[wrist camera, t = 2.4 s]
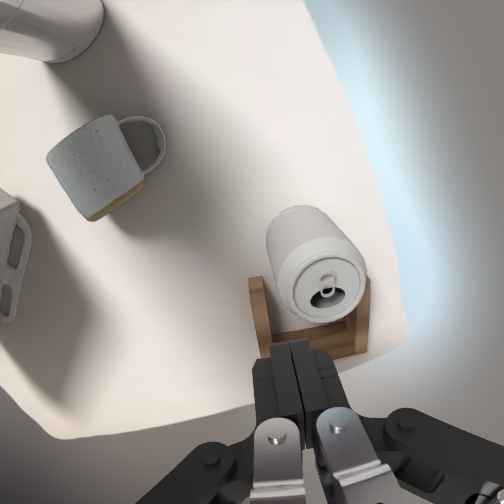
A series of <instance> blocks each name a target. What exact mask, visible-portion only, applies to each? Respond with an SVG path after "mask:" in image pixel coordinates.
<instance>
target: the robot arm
mask: <svg viewBox="0 0 504 504" xmlns="http://www.w3.org/2000/svg"><path fill="white" fill-rule="evenodd" d="M103 16H104V9H103V4H102V2H101V0H0V53H5V54H11V55H17V56H22V57H27V58H32V59H37V60H41V61H45V62H51V63H62V62H65V61H69V60H71V59H73V58H75V57H77V56H78V55H79V54H81V53H82V52H83V51H85V50H86V49H87V48H88V46H89V45H90V44H91V43H92V42H93V40H94V39H95V38H96V36H97V34H98V32H99V30H100V28H101V25H102V22H103ZM288 344H289V346H288ZM269 351H270V357H268V358H261V359H257V360H256V362H255V364H254V366H253V368H252V374H253V386H254V398H255V410H256V427H255V429H254V431H253V433H252V434H251V435H250V436H249V437H248V438H246V439H245V440H243V441H241V442H238V443H235V444H233V445H230V446H226V445H225V444H222V443H219V442H207V443H203V444H201V445H199V446H197V447H196V448H195V449H194V450H193V451H192V452H191V453H190V454H188V455H187V457H185V458H184V459H183V460H182V461H181V462H180V463H179V464H178V465H177V466H176V467H175V468H174V469H173V470H172V471H171V472H170V473H169V474H168V475H166V476H165V477H164V478H163V479H162V480H161V481H160V482H159V483H158V484H157V485H156V486H155V487H153V488H152V489H151V490H150V491H149V492H148V493H147V494H146V495H144V496H143V497H142V498H141V499H140V500H139V501H138V502H136V503H135V504H241V503H242V502H243V501H244V499H245V498H246V497H249V496H250V504H306V495H305V486H304V479H303V468H302V465H303V463H302V450H304V449H305V444H306V449H310V448H313V449H314V454H315V466H316V469H317V472H318V475H319V479H320V481H321V485H322V488H323V491H324V494H325V497H326V500H327V504H408V503H407V501H406V499H405V497H404V494H403V492H402V490H401V488H403V489H405V490H407V491H409V492H411V493H413V494H415V495H417V496H419V497H421V498H423V499H426V500H428V501H430V502H432V503H434V504H504V446H502V445H499V444H496V443H494V442H491V441H488V440H486V439H484V438H481V437H479V436H476V435H473V434H471V433H469V432H466V431H464V430H461V429H459V428H457V427H454V426H452V425H449V424H447V423H445V422H443V421H440V420H438V419H435V418H433V417H431V416H429V415H427V414H424V413H422V412H420V411H418V410H415V409H412V408H401V409H397V410H395V411H393V412H392V413H391V414H390V415H389V416H388V417H387V418H368V417H363V416H361V415H359V414H357V413H355V412H354V411H353V410H352V409H351V407H350V405H349V403H348V400H347V398H346V395H345V392H344V389H343V387H342V384H341V381H340V379H339V376H338V373H337V370H336V368H335V365H334V362H333V360H332V357H331V356H330V355H329V354H328V353H327V352H326V351H325V350H324V349H323V348H322V349H317V350H311V348H310V344H309V341H308V339H307V338H304V339H298V340H292V341H288V342H287V341H286V342H280V343H273V344H269ZM400 487H401V488H400Z"/></svg>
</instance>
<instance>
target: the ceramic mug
mask: <svg viewBox="0 0 504 504" xmlns="http://www.w3.org/2000/svg"><path fill="white" fill-rule="evenodd" d="M135 121H141V122H146V123H148V124H149V125H150V126H151V127H152V129H153V132H154V134H155V136H156V139H157V146H158V148H159V151H160V153H159V155H158V157H157V159H156V160H155V162H153V164H152V165H151V166H149V167H148V168H147V169H145V170H143V171H142V170H141V169H140V167H139V165H138V163H137V161H136V159H135V157H134V155H133V153H132V152H131V150H130V148H129V146H128V144H127V142H126V139H125V137H124V135H123V133H122V131H121V129H120V127H119V126H121V125H123V124H126V123H129V122H135ZM165 151H166V138H165V134H164V132H163V129H162V128H161V126H160V125H159V124H158V123H157V122H156V121H155V120H153V119H152V118H149V117H145V116H131V117H127V118H124V119H121V120H119V121H117V120H116V119H115V117H114V116H113V115H110V114H109V115H105V116H101V117H99V118H97V119H95V120H93V121H91V122H89V123H87V124H85V125H83V126H82V127H80V128H78V129H77V130H75V131H74V132H72V133H71V134H69V135H68V136H67V137H65V138H64V139H63V140H61V141H60V142H59V143H58V144H57V145H56V146H55V147H54V148H53V149H51V150H50V152H49V153H48V154H47V156H46V161H47V163H48V165H49V167H50V168H51V170H52V171H53V173H54V175H55V176H56V178H57V179H58V181H59V183H60V184H61V186H62V187H63V189H64V190H65V192H66V193H67V195H68V196H69V198H70V200H71V201H72V203H73V204H74V206H75V207H76V209H77V210H78V212H79V213H80V214H81V215H82V216H83V217H84V218H85V219H86V220H88V221H91V222H95V221H97V220H99V219H101V218H102V217H104V216H105V215H107V214H109V213H110V212H112V211H113V210H115V209H116V208H117V207H119V206H120V205H122V204H123V203H125V202H126V201H128V200H129V199H130V198H132V197H133V196H134V195H136V194H137V193H138V192H139V191H141V190H142V188H143V186H144V176H145V174H147V173H149V172H150V171H152V170H153V169H154V168H155V167H156V166H157V165H158V164H159V163H160V162H161V160H162V159H163V157H164V154H165Z"/></svg>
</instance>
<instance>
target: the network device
mask: <svg viewBox="0 0 504 504" xmlns="http://www.w3.org/2000/svg"><path fill="white" fill-rule="evenodd" d="M19 210H20V202H19V201H18V200H16V199H15V198H13V197H12V196H11V195H9V194H8V193H6V192H5V191H4V190H2V189H1V188H0V301H1V294H2V287H3V285H8V286H9V287H10V288H11V290H12V300H11V306H10V312H9V316H6V315H4V314H3V313H2V312H0V321H1V322H4V323H11V322H12V321H13V320H14V318H15V317H16V312H17V306H18V301H19V296H20V291H21V286H22V281H23V277H24V273H25V268H26V264H27V260H28V256H29V253H30V249H31V245H32V232H31V229H30V226H29V224H28V222H27V221H26V220H25V218H24V217H23V216H21V215H20V214H19ZM15 225H17V226H19V227H20V228H21V229H22V230H23V232H24V236H25V240H24V244H23V248H22V252H21V256H20V260H19V264H18V268H14V267H12V266H11V265H9V264H8V263H7V260H8V255H9V250H10V246H11V241H12V237H13V233H14V229H15Z"/></svg>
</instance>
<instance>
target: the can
mask: <svg viewBox="0 0 504 504" xmlns="http://www.w3.org/2000/svg"><path fill="white" fill-rule="evenodd" d="M266 245H267V251H268V255H269V258H270V262H271V266H272V270H273V274H274V278H275V282H276V286H277V290H278V293H279V296H280V298H281V301H282V303H283V304H284V305H285V306H286V307H287V308H288V309H289V310H290V312H292V313H294V314H296V315H298V316H299V317H301V318H303V319H305V320H307V321H309V322H314V323H327V322H333V321H335V320H338V319H340V318H343V317H344V316H346V315H347V314H348V313H350V312H351V311H353V309H354V308H355V307H356V306H357V305H358V303H359V302H360V300H361V298H362V296H363V294H364V291H365V284H366V272H367V270H366V265H365V261H364V258H363V256H362V255H361V253H360V252H359V250H358V249H357V248H356V247H355V245H354V244H353V243H352V242H351V241H350V240H349V239H348V238H347V236H346V235H345V234H344V233H343V232H342V231H341V230H340V229H339V228H338V227H337V225H336V224H335V223H334V222H333V221H332V220H331V219H330V218H329V217H328V216H327V215H326V214H325V213H324V212H322V211H321V210H319V209H318V208H315V207H312V206H308V205H299V206H293V207H291V208H288V209H285V210H284V211H282V212H281V213H280V214H279V215H277V216H276V217H275V218H274V220H273V221H272V223H271V224H270V226H269V228H268V232H267V235H266Z"/></svg>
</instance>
